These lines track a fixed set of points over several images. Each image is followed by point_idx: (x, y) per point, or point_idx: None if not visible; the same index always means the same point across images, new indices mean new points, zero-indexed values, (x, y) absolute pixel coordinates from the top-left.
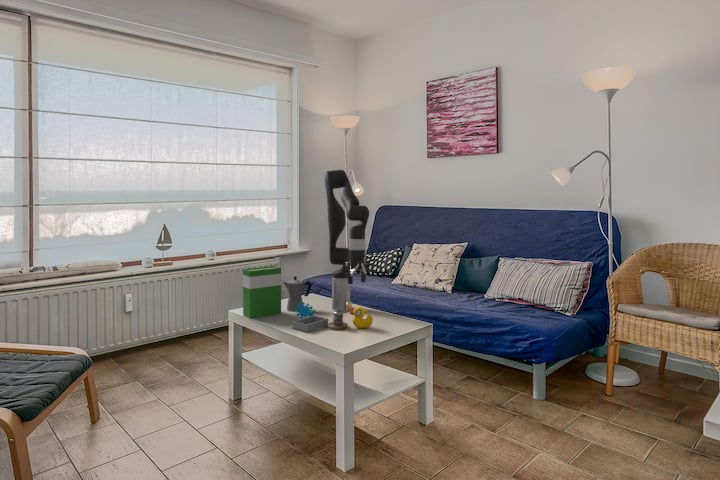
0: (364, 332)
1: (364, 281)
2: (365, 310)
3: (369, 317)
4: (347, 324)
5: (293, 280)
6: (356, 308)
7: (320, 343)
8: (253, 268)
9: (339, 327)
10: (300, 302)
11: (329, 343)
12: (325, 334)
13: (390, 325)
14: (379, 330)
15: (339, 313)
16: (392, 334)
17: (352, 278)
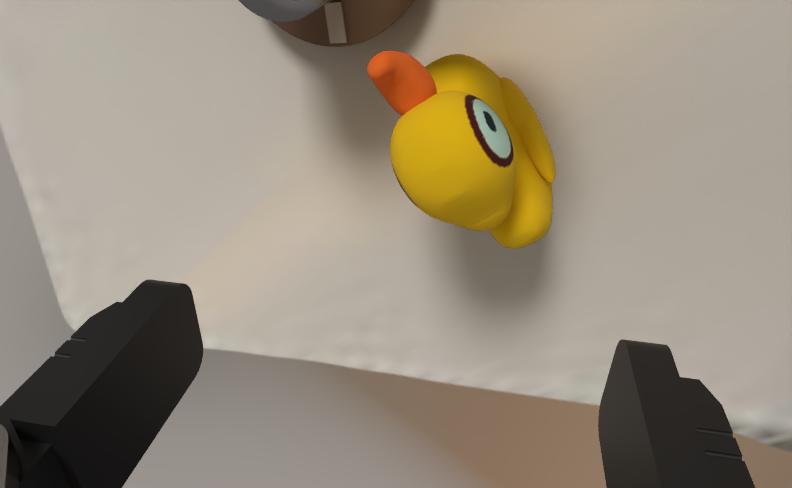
0: (401, 208)
1: (604, 440)
2: (485, 228)
3: (494, 237)
4: (394, 18)
5: None
6: (402, 171)
7: (19, 142)
8: None
9: (279, 24)
10: None
11: (69, 183)
12: (131, 17)
13: (717, 253)
14: (523, 260)
15: (255, 12)
16: (500, 360)
17: (126, 470)
